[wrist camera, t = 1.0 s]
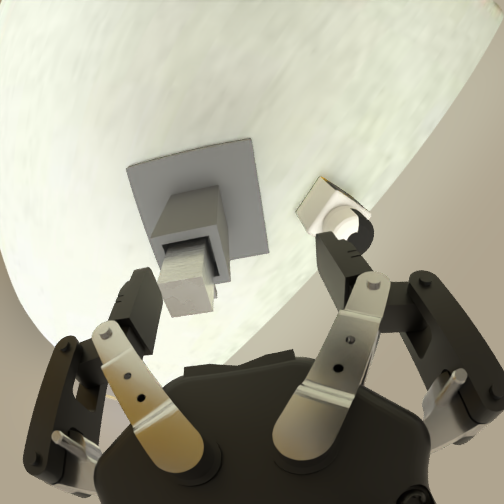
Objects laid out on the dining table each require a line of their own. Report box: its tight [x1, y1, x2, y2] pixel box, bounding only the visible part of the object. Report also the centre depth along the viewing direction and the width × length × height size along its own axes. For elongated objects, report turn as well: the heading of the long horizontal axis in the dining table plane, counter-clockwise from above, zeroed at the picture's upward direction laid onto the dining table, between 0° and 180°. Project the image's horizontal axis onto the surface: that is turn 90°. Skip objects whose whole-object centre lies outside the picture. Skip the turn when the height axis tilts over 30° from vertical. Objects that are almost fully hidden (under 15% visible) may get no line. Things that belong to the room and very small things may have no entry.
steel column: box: [157, 236, 215, 317], centre depth 31 cm, size 4×4×18 cm
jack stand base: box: [126, 138, 269, 299], centre depth 35 cm, size 18×18×14 cm
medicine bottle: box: [296, 177, 374, 255], centre depth 37 cm, size 7×7×12 cm
